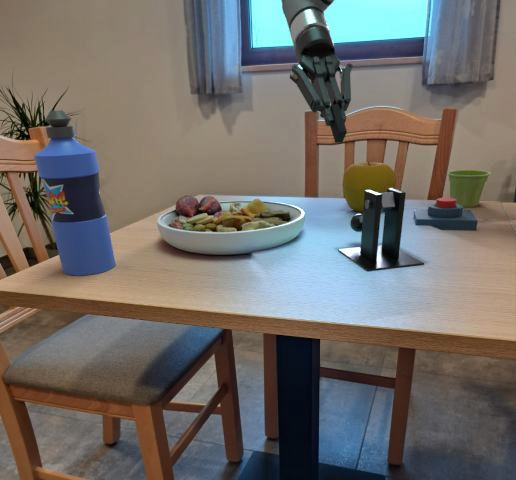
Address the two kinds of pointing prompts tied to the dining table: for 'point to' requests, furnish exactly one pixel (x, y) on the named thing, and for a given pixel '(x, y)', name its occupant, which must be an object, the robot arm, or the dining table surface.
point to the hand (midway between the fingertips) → (340, 137)
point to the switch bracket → (389, 251)
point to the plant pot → (467, 186)
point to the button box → (446, 218)
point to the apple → (366, 182)
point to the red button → (446, 203)
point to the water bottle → (74, 200)
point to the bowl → (229, 225)
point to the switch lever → (385, 207)
